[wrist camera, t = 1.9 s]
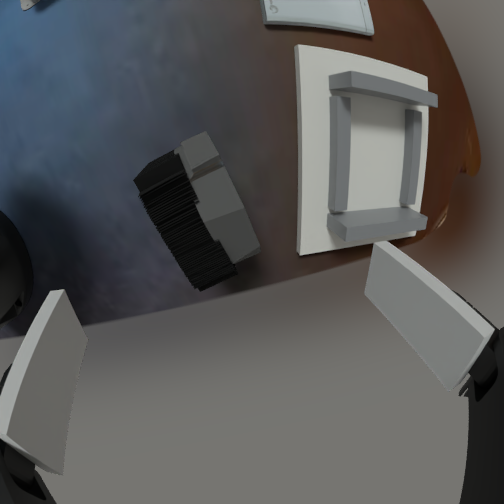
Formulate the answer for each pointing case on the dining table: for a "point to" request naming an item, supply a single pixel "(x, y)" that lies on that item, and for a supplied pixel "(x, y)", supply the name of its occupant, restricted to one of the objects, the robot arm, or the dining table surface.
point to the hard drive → (320, 14)
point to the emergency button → (28, 3)
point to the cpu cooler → (198, 211)
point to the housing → (358, 149)
